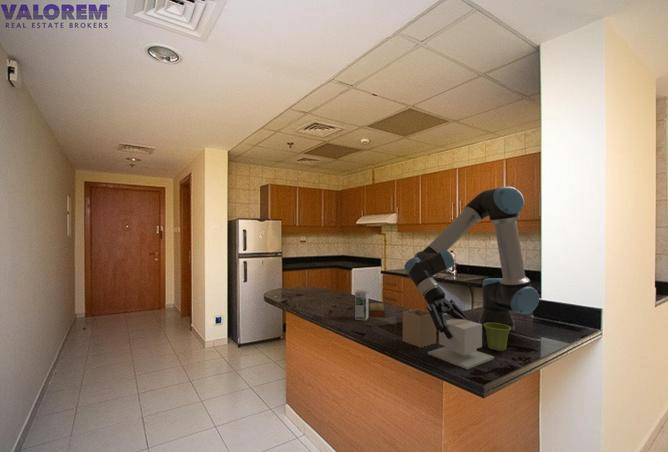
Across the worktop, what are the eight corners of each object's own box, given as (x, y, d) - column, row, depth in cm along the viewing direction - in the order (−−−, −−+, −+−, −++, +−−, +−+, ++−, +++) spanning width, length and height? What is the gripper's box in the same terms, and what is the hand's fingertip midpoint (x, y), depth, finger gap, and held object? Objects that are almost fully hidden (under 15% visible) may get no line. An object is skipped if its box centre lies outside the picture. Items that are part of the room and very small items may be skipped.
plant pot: (502, 344, 129) (502, 322, 129) (516, 353, 120) (516, 329, 120) (479, 344, 129) (479, 322, 129) (491, 353, 120) (491, 329, 120)
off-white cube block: (456, 342, 124) (456, 317, 124) (482, 350, 115) (482, 323, 115) (438, 348, 118) (438, 321, 118) (464, 357, 109) (464, 328, 109)
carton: (383, 310, 186) (383, 303, 186) (385, 318, 170) (385, 309, 170) (368, 310, 186) (368, 302, 187) (369, 317, 171) (369, 309, 171)
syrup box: (354, 319, 164) (354, 291, 164) (358, 317, 170) (358, 289, 170) (365, 321, 162) (365, 292, 162) (368, 318, 168) (368, 290, 168)
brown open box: (418, 337, 138) (418, 308, 138) (436, 343, 130) (436, 313, 130) (402, 341, 132) (402, 311, 133) (420, 347, 125) (420, 316, 125)
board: (454, 345, 127) (454, 343, 127) (494, 358, 114) (494, 356, 114) (427, 354, 118) (427, 351, 118) (467, 369, 105) (467, 367, 105)
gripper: (444, 294, 136) (479, 342, 123) (406, 300, 123) (440, 355, 110) (455, 283, 131) (492, 332, 118) (417, 288, 119) (454, 344, 105)
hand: (467, 343), depth 114 cm, fingers closed on off-white cube block, 10 cm apart
